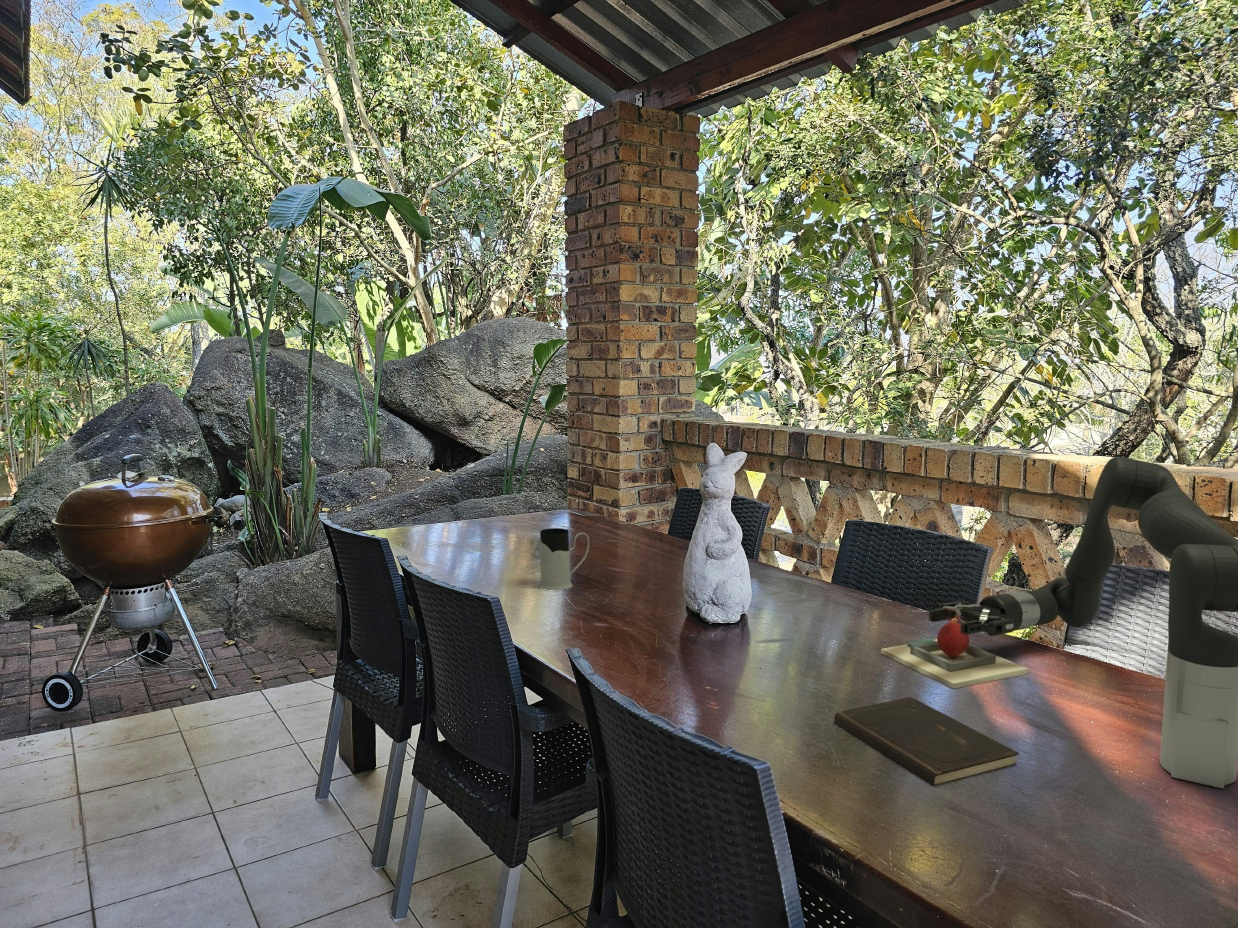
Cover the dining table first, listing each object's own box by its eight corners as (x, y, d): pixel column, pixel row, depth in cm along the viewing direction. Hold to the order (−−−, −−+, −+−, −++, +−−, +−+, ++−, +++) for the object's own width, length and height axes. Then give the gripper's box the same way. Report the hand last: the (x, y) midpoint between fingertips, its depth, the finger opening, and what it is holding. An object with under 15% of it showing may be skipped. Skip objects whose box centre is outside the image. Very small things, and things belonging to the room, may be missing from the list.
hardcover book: (910, 709, 148) (911, 696, 148) (1018, 767, 127) (1019, 752, 127) (833, 725, 142) (834, 712, 142) (933, 789, 121) (934, 774, 121)
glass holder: (534, 584, 229) (533, 529, 227) (583, 578, 235) (582, 524, 233) (545, 592, 221) (544, 535, 219) (596, 585, 227) (595, 530, 225)
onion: (948, 664, 164) (950, 624, 163) (930, 654, 170) (931, 615, 169) (974, 661, 166) (976, 621, 165) (955, 651, 171) (957, 612, 170)
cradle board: (1028, 673, 162) (1028, 660, 162) (953, 688, 155) (953, 675, 155) (950, 641, 180) (951, 629, 180) (881, 653, 174) (881, 641, 173)
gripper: (982, 585, 178) (920, 594, 172) (1039, 603, 165) (974, 613, 159) (981, 620, 179) (919, 630, 173) (1037, 640, 166) (972, 652, 160)
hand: (945, 622), depth 166 cm, fingers open, 8 cm apart
